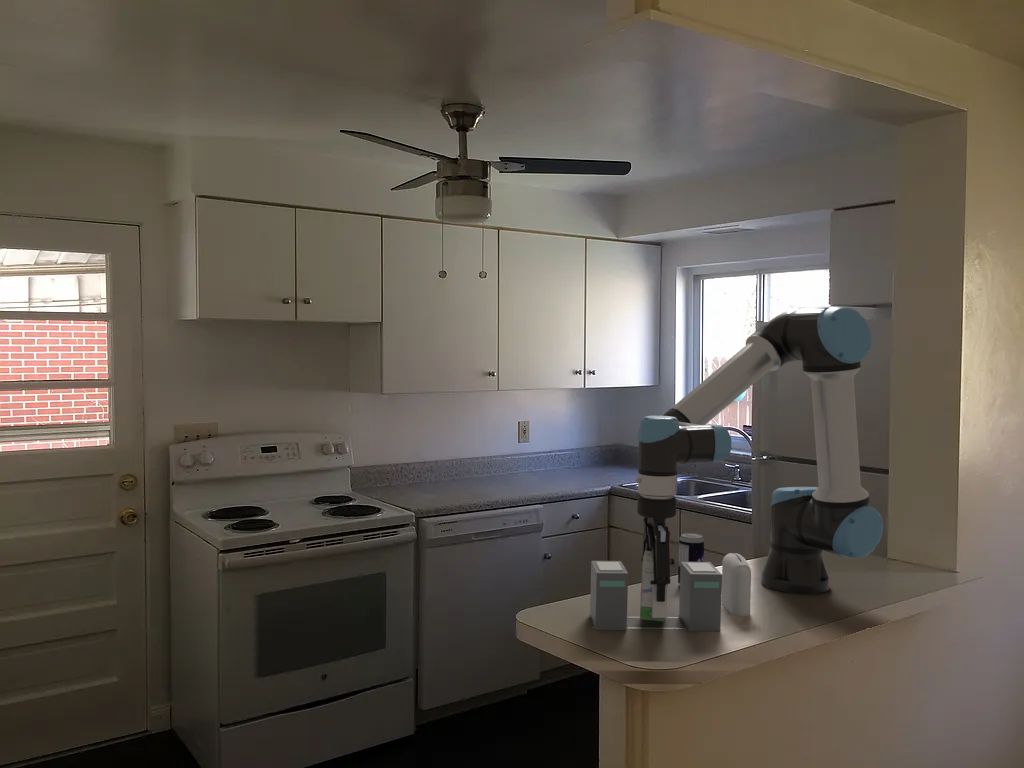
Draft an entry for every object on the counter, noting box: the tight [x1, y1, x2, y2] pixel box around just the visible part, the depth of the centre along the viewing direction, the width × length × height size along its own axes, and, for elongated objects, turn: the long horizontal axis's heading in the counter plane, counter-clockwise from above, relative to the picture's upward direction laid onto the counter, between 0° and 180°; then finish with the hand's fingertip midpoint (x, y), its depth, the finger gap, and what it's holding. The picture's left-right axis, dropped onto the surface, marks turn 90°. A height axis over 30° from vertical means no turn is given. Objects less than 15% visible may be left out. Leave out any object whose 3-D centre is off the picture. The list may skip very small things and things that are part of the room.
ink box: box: [639, 550, 669, 622], centre depth 168 cm, size 9×5×12 cm, turn 169°
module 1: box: [589, 560, 629, 631], centre depth 167 cm, size 6×9×11 cm, turn 1°
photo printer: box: [721, 552, 752, 617], centre depth 178 cm, size 10×4×12 cm, turn 0°
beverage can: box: [677, 532, 705, 585], centre depth 197 cm, size 6×6×12 cm
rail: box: [588, 615, 722, 631], centre depth 168 cm, size 25×8×1 cm, turn 91°
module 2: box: [678, 561, 722, 632], centre depth 168 cm, size 6×9×11 cm, turn 1°
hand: (654, 608), depth 168 cm, fingers closed on ink box, 9 cm apart
